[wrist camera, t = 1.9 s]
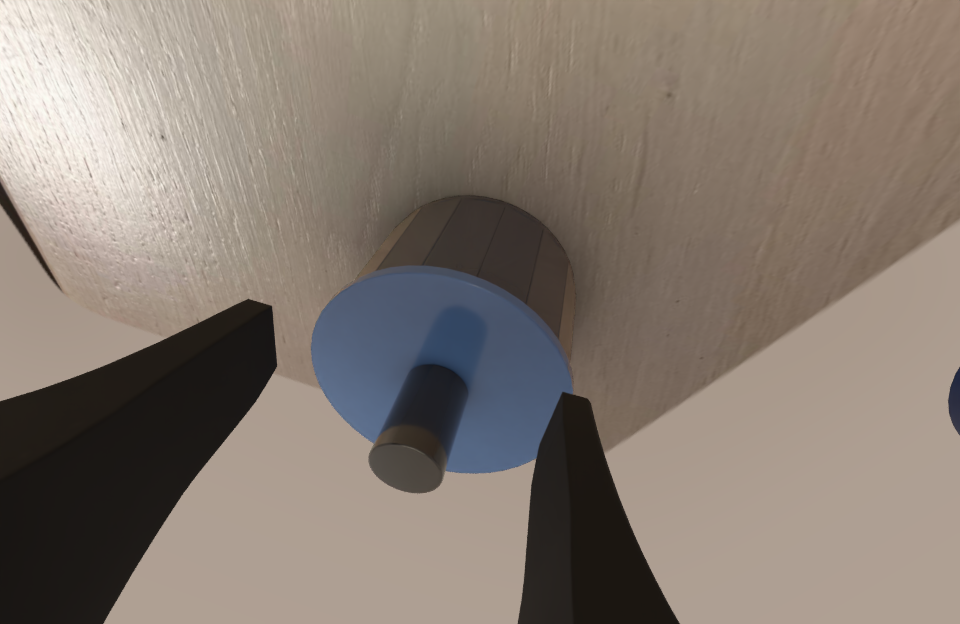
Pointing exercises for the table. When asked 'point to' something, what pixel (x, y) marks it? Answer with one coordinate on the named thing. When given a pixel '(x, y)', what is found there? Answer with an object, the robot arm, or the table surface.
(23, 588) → the robot arm
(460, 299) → the lid
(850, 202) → the table surface
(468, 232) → the pot
